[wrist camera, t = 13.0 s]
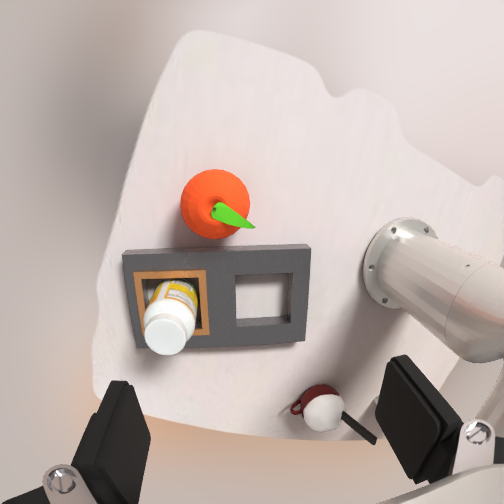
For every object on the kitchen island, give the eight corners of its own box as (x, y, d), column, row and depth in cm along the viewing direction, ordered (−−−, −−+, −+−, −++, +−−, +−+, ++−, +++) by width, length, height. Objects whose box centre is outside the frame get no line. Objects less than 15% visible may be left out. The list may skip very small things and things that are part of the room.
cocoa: (284, 403, 44) (296, 464, 32) (300, 373, 42) (318, 435, 31) (337, 410, 45) (357, 464, 34) (354, 382, 43) (382, 437, 32)
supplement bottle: (190, 270, 36) (182, 306, 27) (204, 310, 37) (201, 354, 28) (148, 282, 36) (128, 319, 26) (163, 320, 37) (150, 365, 28)
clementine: (266, 192, 34) (278, 199, 28) (236, 245, 36) (241, 265, 29) (202, 157, 33) (198, 155, 26) (173, 213, 34) (162, 225, 27)
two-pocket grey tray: (306, 243, 37) (311, 249, 34) (300, 333, 40) (305, 342, 38) (126, 250, 34) (121, 255, 32) (139, 339, 38) (136, 349, 35)
